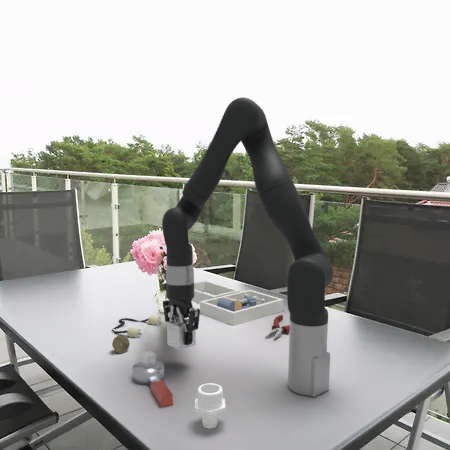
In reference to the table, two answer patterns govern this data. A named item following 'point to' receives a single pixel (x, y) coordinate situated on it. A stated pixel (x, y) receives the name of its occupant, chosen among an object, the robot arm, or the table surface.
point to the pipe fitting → (210, 404)
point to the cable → (135, 331)
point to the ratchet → (153, 378)
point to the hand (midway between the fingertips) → (181, 341)
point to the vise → (238, 303)
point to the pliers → (278, 328)
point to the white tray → (243, 315)
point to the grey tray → (210, 291)
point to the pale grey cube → (178, 334)
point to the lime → (120, 343)
